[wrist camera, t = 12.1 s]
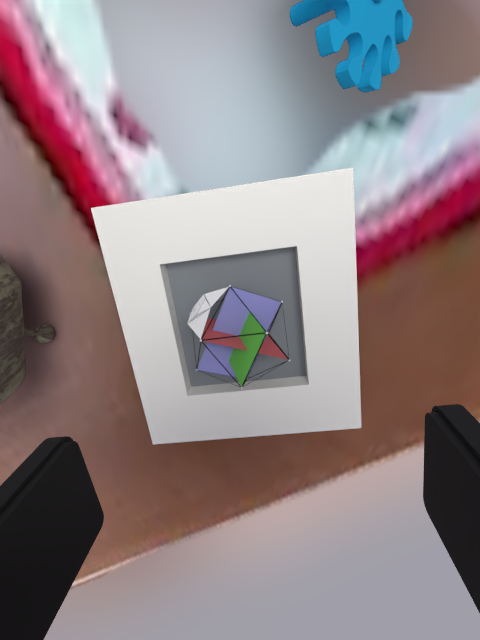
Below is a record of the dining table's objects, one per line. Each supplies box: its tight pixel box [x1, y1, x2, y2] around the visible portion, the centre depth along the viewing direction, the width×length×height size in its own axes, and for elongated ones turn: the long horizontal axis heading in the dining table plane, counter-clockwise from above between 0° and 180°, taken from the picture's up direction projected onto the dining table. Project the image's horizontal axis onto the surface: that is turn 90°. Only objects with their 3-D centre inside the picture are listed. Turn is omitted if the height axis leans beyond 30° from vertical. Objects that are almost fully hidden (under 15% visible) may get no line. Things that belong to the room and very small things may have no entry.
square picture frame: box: [91, 168, 361, 444], centre depth 27 cm, size 18×20×2 cm
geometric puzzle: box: [187, 285, 290, 389], centre depth 24 cm, size 7×7×8 cm
